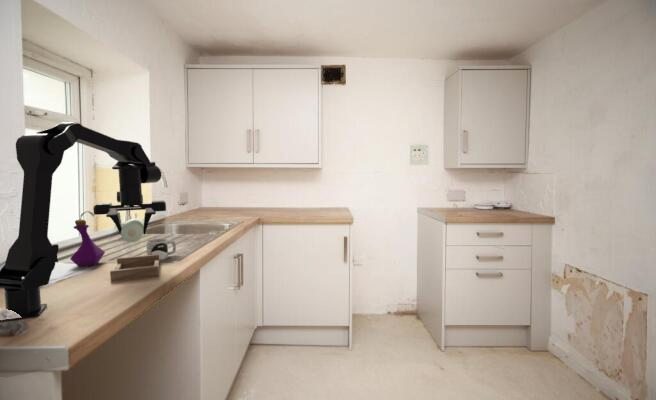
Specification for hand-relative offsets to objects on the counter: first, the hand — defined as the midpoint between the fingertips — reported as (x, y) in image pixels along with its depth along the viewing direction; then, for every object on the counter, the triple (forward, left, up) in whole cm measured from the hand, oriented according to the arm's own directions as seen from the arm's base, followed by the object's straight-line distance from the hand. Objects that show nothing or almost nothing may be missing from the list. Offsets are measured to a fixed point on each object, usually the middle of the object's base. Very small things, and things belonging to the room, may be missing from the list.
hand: (133, 235), depth 104 cm
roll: (0, 0, -1) cm, 1 cm away
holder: (0, -1, -12) cm, 12 cm away
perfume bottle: (+15, +14, -12) cm, 24 cm away
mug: (+15, -8, -12) cm, 21 cm away
